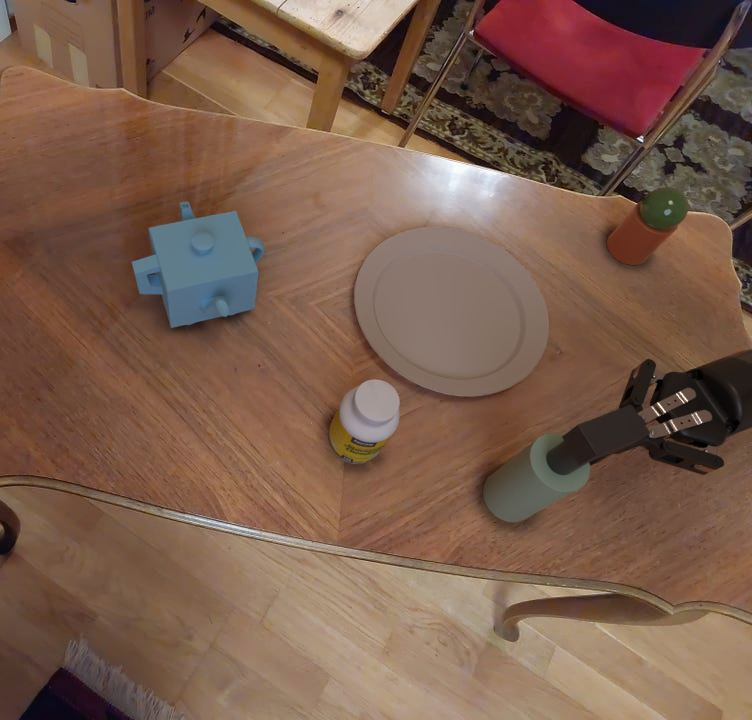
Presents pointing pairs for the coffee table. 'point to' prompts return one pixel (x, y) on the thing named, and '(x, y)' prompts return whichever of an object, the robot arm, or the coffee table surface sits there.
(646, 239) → the plant pot
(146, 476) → the coffee table surface
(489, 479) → the spray bottle
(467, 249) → the plate
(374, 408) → the pill bottle
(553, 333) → the coffee table surface
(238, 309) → the teapot
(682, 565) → the coffee table surface
